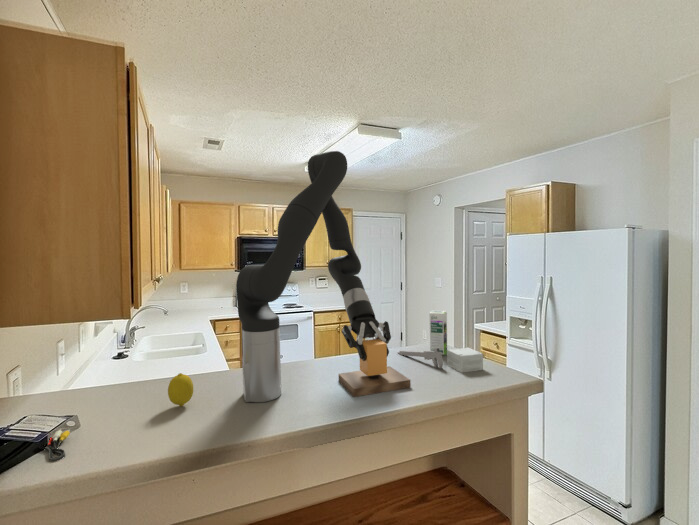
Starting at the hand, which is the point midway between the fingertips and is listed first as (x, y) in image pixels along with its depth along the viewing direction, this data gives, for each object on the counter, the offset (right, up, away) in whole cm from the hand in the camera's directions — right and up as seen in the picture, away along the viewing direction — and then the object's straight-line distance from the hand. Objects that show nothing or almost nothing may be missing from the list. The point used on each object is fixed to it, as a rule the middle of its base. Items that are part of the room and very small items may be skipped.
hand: (375, 357), depth 96 cm
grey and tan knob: (0, -6, +2) cm, 6 cm away
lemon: (-47, -9, -10) cm, 49 cm away
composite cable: (-63, -11, -28) cm, 70 cm away
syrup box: (+24, -6, +30) cm, 39 cm away
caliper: (+16, -7, +22) cm, 28 cm away
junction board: (0, -8, +2) cm, 8 cm away
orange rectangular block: (-1, -4, +2) cm, 5 cm away
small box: (+28, -7, +14) cm, 32 cm away
